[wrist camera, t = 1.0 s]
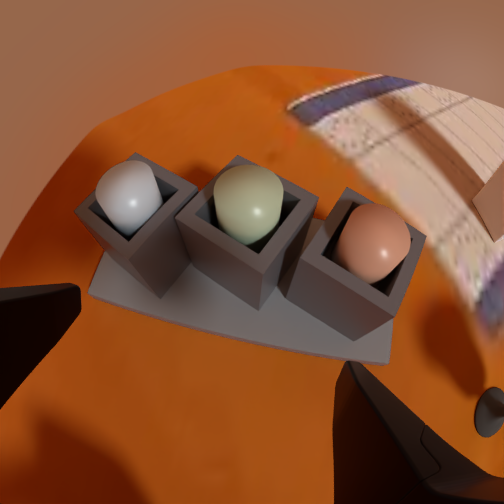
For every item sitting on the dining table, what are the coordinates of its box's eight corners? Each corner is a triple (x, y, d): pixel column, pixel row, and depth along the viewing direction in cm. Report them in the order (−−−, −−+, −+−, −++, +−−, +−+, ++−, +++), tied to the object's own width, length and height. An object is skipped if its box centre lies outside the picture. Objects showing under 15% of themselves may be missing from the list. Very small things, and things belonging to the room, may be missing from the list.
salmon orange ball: (369, 302, 17) (397, 277, 13) (319, 271, 18) (335, 239, 14) (391, 257, 18) (417, 226, 15) (345, 229, 19) (363, 192, 16)
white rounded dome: (141, 254, 18) (119, 220, 15) (108, 226, 19) (85, 192, 16) (178, 213, 20) (165, 174, 16) (143, 191, 21) (127, 152, 17)
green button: (255, 265, 18) (257, 231, 15) (207, 235, 19) (199, 197, 15) (288, 223, 19) (296, 184, 16) (242, 197, 20) (240, 155, 17)
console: (382, 365, 20) (439, 347, 13) (93, 298, 23) (41, 255, 15) (389, 243, 25) (430, 189, 18) (140, 193, 27) (114, 133, 20)
